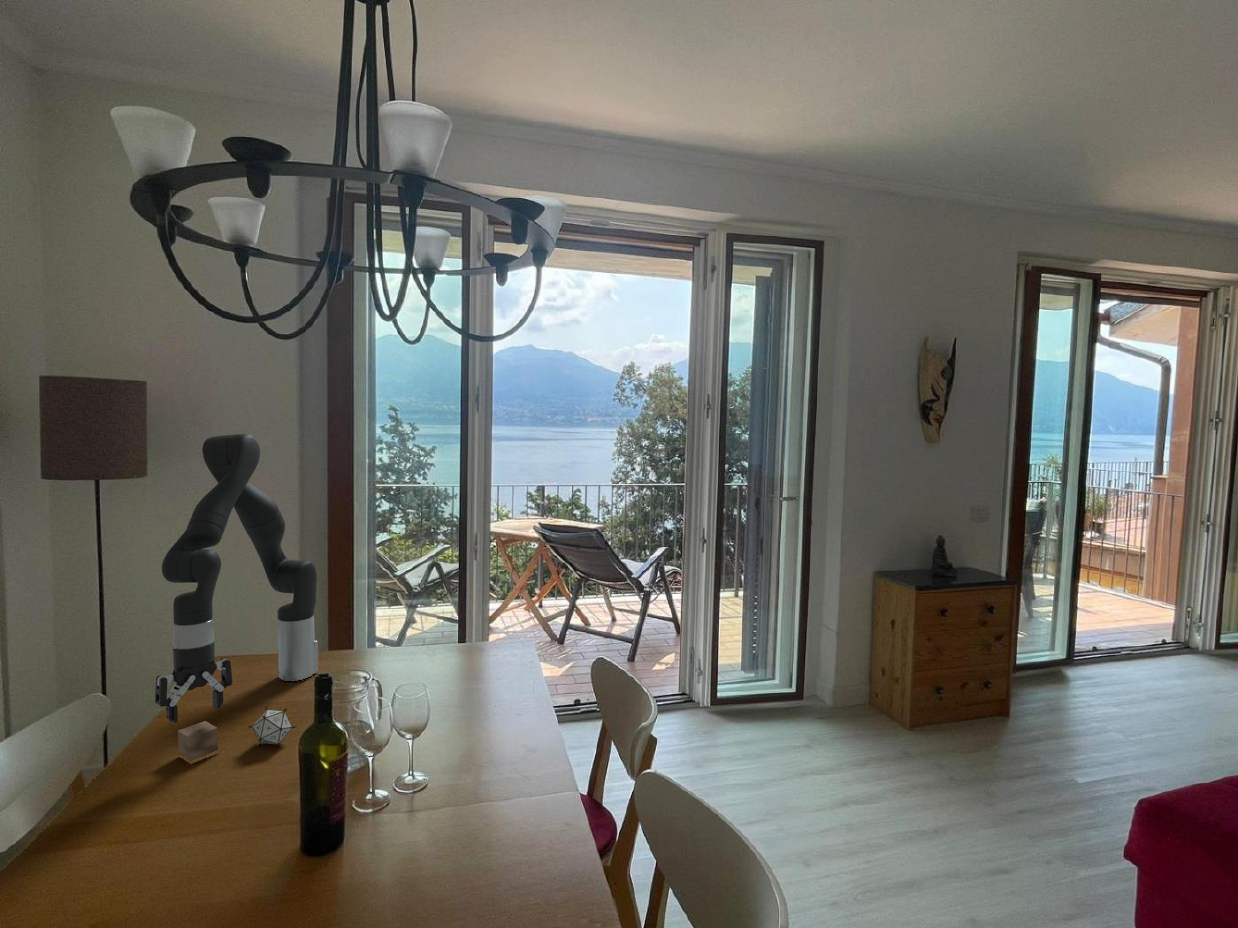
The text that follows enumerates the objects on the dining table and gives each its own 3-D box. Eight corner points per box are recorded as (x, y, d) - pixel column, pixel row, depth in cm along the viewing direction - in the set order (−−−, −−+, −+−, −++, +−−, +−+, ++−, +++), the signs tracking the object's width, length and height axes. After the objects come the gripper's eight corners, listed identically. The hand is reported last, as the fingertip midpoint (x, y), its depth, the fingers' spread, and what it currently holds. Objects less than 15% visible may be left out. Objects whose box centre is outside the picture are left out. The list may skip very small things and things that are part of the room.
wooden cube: (206, 746, 147) (205, 720, 146) (218, 754, 144) (217, 727, 143) (178, 757, 142) (177, 730, 142) (190, 764, 139) (189, 737, 139)
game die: (271, 764, 147) (251, 743, 140) (254, 739, 151) (235, 718, 145) (308, 734, 152) (291, 713, 145) (290, 711, 156) (273, 690, 149)
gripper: (220, 629, 149) (222, 699, 150) (148, 646, 137) (150, 721, 138) (237, 636, 145) (238, 707, 146) (163, 654, 133) (165, 731, 134)
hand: (195, 714), depth 142 cm, fingers open, 8 cm apart
